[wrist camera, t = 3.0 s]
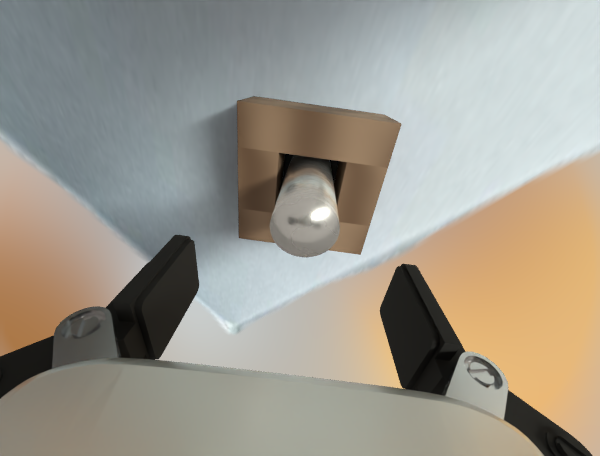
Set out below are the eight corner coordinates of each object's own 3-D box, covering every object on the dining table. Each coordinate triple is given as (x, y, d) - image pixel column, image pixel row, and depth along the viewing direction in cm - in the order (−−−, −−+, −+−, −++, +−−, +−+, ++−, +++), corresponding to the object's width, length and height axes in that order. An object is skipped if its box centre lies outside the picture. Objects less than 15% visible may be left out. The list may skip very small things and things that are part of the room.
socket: (384, 114, 21) (401, 123, 16) (353, 226, 26) (360, 254, 22) (253, 96, 21) (237, 100, 16) (251, 212, 26) (238, 237, 22)
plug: (334, 151, 22) (346, 202, 13) (327, 191, 24) (332, 261, 15) (291, 144, 22) (271, 192, 13) (287, 185, 24) (267, 252, 15)
